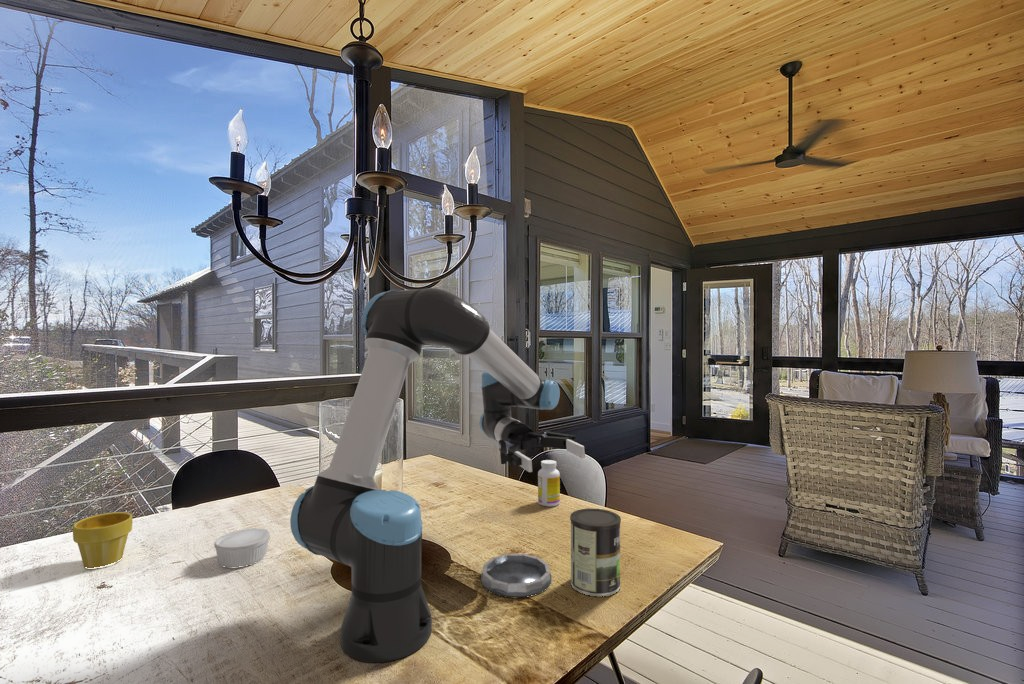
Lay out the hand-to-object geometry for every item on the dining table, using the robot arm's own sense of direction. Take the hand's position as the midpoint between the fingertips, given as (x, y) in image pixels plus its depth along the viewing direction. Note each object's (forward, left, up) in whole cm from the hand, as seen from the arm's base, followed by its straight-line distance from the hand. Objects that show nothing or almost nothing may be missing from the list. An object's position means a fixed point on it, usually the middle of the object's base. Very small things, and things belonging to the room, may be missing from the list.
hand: (557, 459), depth 108 cm
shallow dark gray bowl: (-10, +1, -24) cm, 26 cm away
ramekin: (-59, +41, -25) cm, 76 cm away
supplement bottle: (+23, +36, -24) cm, 49 cm away
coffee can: (+3, -9, -24) cm, 26 cm away
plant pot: (-86, +55, -24) cm, 105 cm away
